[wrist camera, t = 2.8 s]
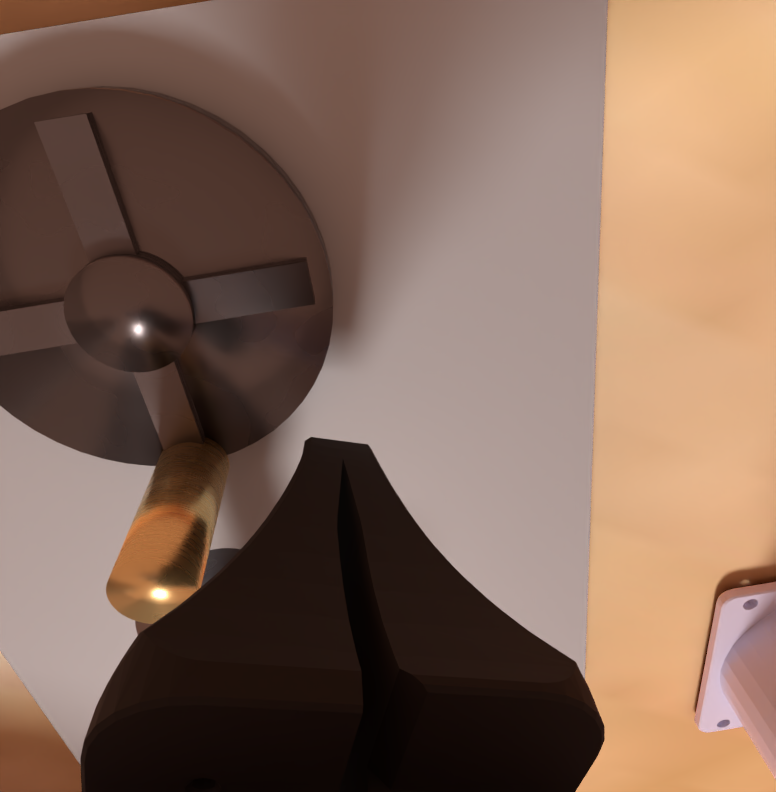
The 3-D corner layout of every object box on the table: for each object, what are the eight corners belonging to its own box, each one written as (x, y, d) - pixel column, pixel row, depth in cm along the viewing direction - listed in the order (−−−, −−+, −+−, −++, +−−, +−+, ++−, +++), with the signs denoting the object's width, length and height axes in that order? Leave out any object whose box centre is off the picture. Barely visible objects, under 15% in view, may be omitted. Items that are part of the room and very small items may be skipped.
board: (585, -55, 12) (610, -65, 11) (572, 696, 24) (583, 725, 23) (-326, 93, 12) (-388, 97, 11) (117, 771, 24) (107, 803, 23)
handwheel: (289, 53, 11) (264, 56, 7) (364, 444, 16) (378, 589, 11) (-142, 123, 11) (-420, 167, 7) (55, 495, 16) (-45, 658, 11)
